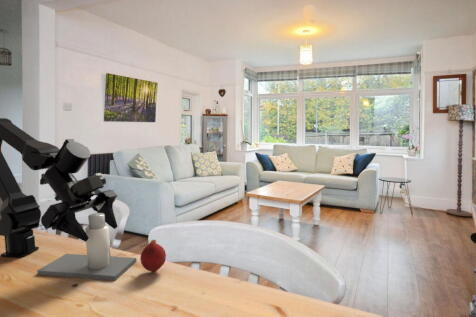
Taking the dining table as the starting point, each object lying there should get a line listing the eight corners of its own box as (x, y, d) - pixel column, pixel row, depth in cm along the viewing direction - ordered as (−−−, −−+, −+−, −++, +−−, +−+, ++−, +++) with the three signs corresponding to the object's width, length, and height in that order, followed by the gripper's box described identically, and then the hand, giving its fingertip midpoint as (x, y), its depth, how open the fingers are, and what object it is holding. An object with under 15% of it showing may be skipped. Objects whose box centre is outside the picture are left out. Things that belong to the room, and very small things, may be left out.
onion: (159, 279, 73) (158, 245, 72) (136, 276, 74) (135, 243, 73) (170, 267, 78) (169, 236, 78) (148, 266, 80) (147, 235, 79)
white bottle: (84, 269, 75) (81, 218, 74) (92, 260, 81) (89, 212, 79) (107, 268, 76) (104, 217, 75) (113, 259, 81) (110, 211, 80)
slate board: (37, 274, 76) (37, 270, 75) (66, 257, 85) (66, 253, 85) (115, 280, 72) (115, 276, 72) (136, 261, 82) (136, 257, 82)
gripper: (46, 169, 68) (88, 224, 66) (110, 159, 86) (145, 203, 83) (23, 202, 72) (62, 255, 69) (89, 186, 89) (122, 229, 87)
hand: (102, 233), depth 77 cm, fingers open, 9 cm apart
